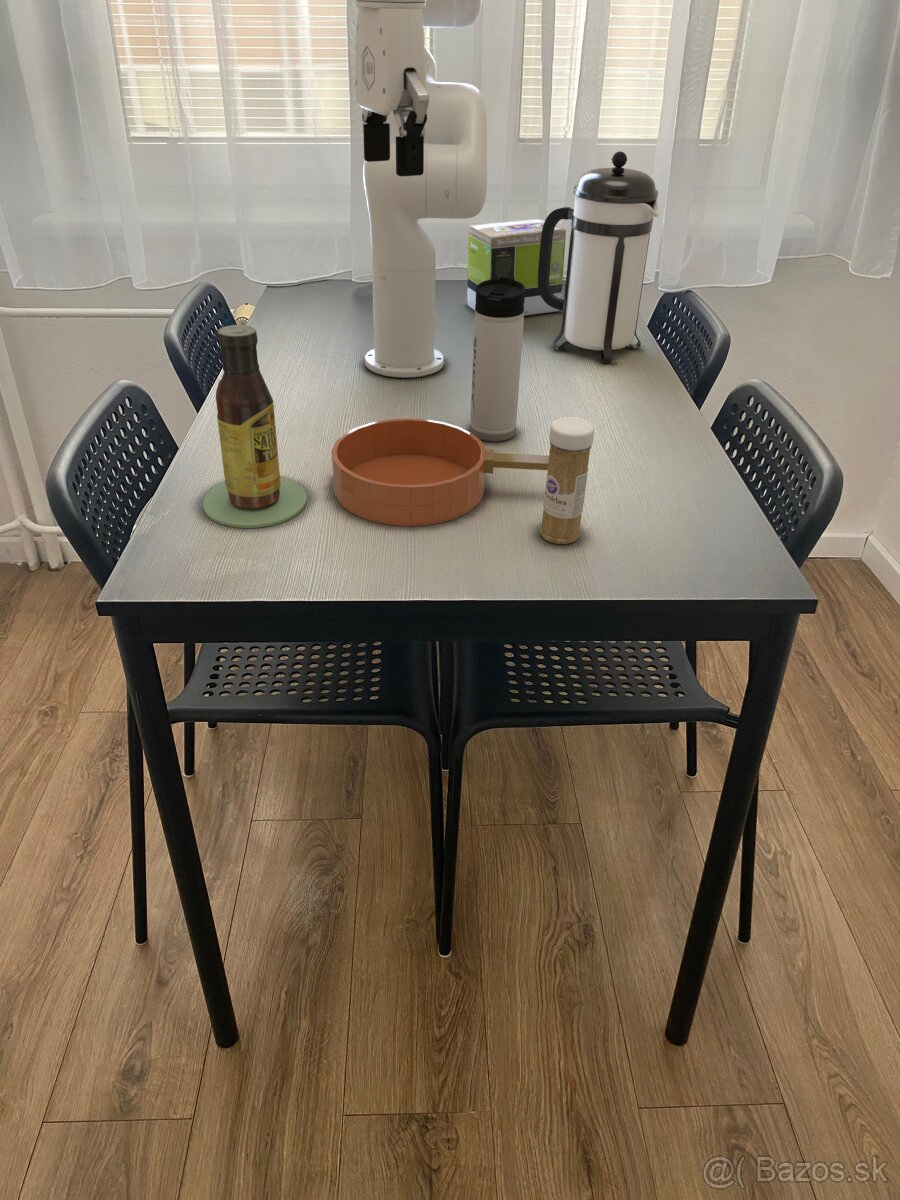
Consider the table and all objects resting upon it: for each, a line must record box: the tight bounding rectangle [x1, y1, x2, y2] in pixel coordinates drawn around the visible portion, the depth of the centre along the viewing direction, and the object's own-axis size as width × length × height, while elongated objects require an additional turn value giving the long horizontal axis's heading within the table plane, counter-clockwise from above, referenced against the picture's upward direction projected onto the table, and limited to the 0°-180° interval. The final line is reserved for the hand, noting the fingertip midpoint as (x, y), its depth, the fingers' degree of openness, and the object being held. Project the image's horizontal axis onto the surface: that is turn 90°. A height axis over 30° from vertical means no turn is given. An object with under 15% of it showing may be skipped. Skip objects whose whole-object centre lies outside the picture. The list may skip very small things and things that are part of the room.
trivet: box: [202, 476, 308, 529], centre depth 103 cm, size 12×12×1 cm
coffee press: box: [538, 151, 661, 364], centre depth 140 cm, size 17×16×30 cm
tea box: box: [466, 218, 567, 317], centre depth 160 cm, size 15×10×15 cm
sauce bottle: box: [215, 324, 281, 509], centre depth 97 cm, size 6×6×20 cm
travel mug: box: [469, 276, 525, 443], centre depth 115 cm, size 6×7×20 cm
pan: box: [331, 418, 486, 527], centre depth 106 cm, size 18×18×5 cm
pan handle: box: [484, 448, 549, 475], centre depth 104 cm, size 11×3×2 cm, turn 86°
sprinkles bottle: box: [539, 416, 595, 545], centre depth 95 cm, size 5×5×13 cm
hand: (393, 167), depth 104 cm, fingers open, 9 cm apart
